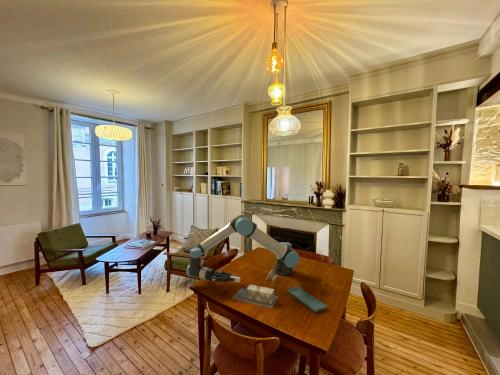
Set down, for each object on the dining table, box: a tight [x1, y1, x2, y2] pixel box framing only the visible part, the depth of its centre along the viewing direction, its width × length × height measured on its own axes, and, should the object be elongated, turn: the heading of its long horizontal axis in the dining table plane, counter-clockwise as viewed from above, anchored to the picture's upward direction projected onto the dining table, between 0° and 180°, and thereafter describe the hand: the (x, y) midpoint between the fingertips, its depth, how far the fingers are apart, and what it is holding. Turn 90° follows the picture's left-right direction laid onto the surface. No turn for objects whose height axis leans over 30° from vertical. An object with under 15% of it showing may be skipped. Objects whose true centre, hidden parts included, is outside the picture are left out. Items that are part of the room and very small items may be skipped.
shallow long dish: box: [286, 286, 327, 313], centre depth 137 cm, size 26×9×2 cm, turn 26°
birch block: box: [245, 284, 275, 304], centre depth 137 cm, size 6×6×16 cm
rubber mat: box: [231, 288, 279, 310], centre depth 138 cm, size 26×14×1 cm, turn 68°
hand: (239, 280), depth 141 cm, fingers closed
